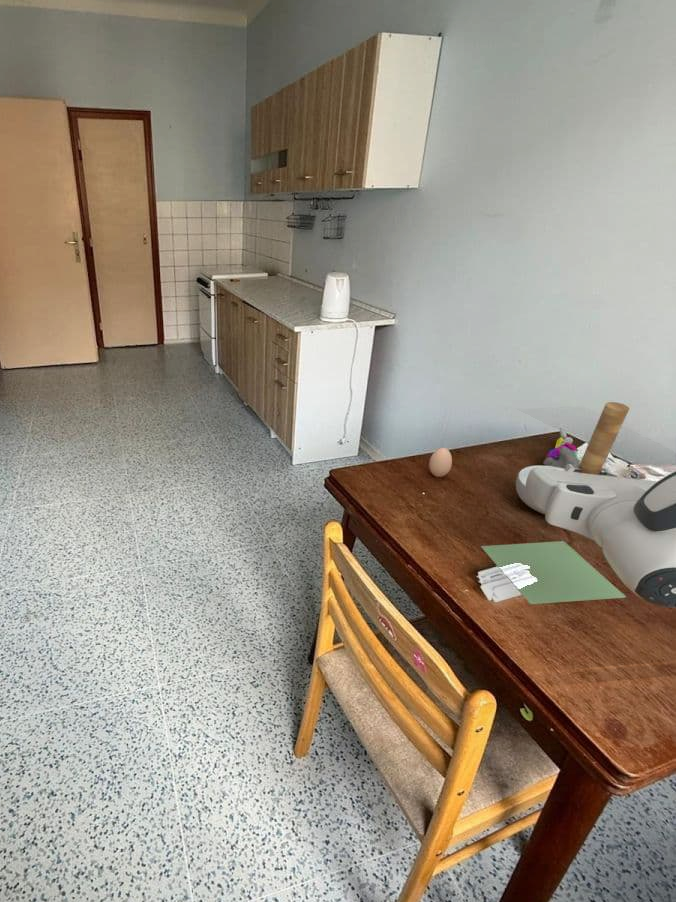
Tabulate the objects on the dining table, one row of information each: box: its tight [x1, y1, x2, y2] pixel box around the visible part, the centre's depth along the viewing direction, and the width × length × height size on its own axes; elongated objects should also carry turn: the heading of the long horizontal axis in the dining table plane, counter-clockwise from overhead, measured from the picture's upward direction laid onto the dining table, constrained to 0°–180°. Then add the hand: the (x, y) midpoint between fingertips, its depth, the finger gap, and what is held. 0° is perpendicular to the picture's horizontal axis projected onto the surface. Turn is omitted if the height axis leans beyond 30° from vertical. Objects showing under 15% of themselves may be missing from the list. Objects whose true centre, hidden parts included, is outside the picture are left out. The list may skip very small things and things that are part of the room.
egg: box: [428, 447, 453, 478], centre depth 121 cm, size 5×5×8 cm
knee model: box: [542, 427, 581, 469], centre depth 127 cm, size 9×8×25 cm
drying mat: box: [480, 540, 627, 605], centre depth 91 cm, size 18×16×1 cm
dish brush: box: [578, 401, 630, 475], centre depth 78 cm, size 6×6×20 cm
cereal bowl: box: [515, 465, 565, 516], centre depth 108 cm, size 17×17×7 cm
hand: (585, 469), depth 80 cm, fingers closed on dish brush, 3 cm apart
